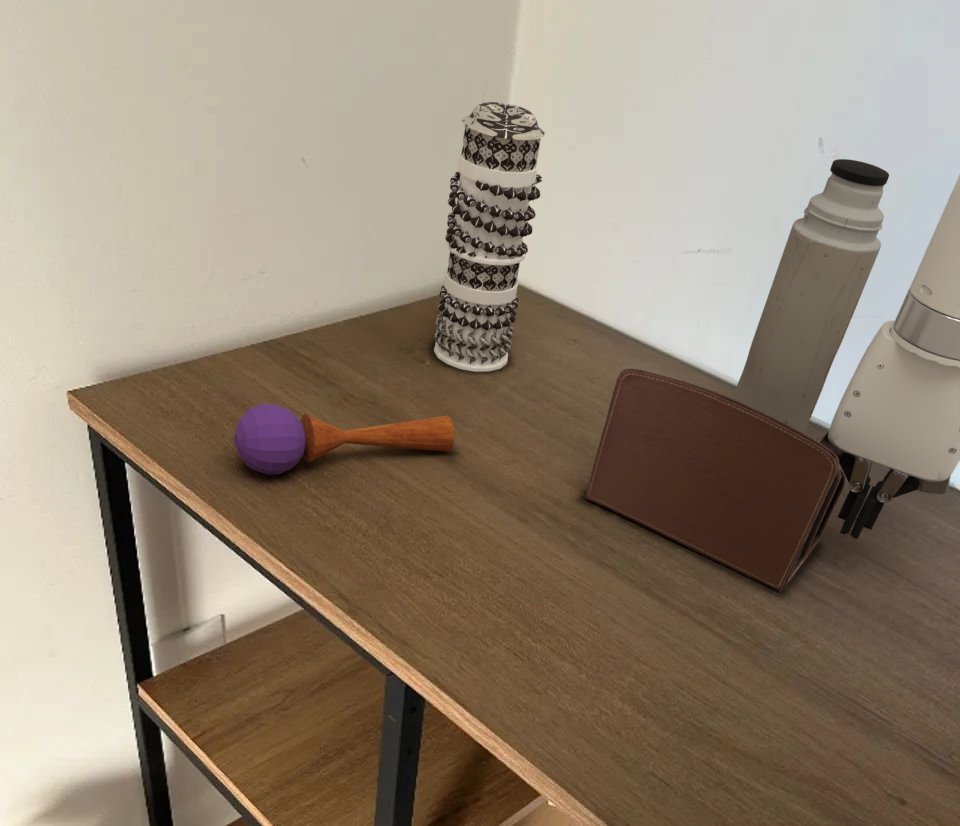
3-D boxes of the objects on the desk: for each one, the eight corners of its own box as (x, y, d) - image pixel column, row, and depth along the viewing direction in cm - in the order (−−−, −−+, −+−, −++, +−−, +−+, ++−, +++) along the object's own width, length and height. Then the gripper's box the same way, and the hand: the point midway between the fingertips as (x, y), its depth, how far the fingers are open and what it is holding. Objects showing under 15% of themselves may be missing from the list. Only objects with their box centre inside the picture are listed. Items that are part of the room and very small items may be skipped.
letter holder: (781, 595, 82) (846, 451, 73) (582, 500, 89) (618, 357, 80) (818, 545, 89) (881, 407, 80) (630, 460, 96) (668, 324, 86)
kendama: (467, 430, 87) (248, 436, 78) (449, 478, 92) (241, 490, 83) (443, 387, 90) (231, 389, 81) (428, 437, 95) (224, 443, 86)
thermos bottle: (794, 442, 103) (907, 165, 85) (791, 478, 98) (912, 188, 79) (721, 423, 104) (817, 144, 86) (714, 457, 98) (815, 166, 80)
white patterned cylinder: (527, 358, 110) (572, 117, 93) (477, 381, 104) (516, 128, 87) (465, 329, 113) (498, 91, 97) (414, 349, 107) (439, 100, 91)
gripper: (1054, 343, 72) (942, 541, 84) (858, 283, 76) (778, 480, 88) (1050, 378, 67) (931, 583, 79) (840, 311, 71) (758, 517, 83)
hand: (851, 528), depth 84 cm, fingers closed
